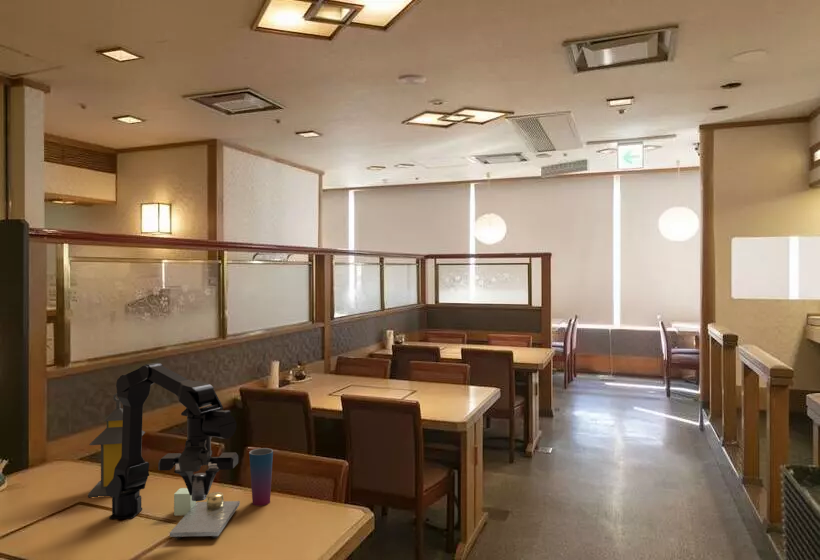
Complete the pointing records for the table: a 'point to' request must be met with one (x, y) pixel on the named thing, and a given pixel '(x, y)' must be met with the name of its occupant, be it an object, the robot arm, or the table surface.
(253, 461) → the cup
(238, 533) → the table surface
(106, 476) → the lantern
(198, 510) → the grey flat plate
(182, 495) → the green block
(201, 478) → the black peg
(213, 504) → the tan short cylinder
